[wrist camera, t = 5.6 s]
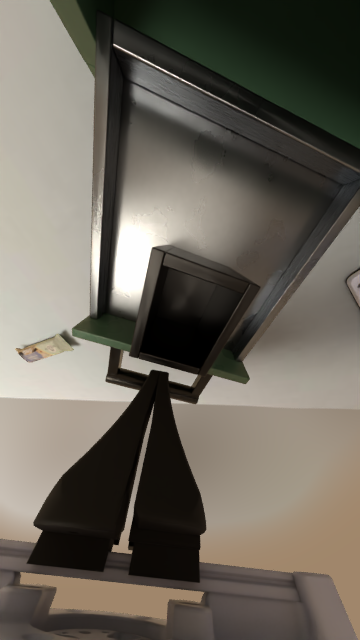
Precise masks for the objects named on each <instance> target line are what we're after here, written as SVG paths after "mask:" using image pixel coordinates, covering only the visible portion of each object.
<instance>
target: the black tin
mask: <svg viewBox="0 0 360 640" xmlns="http://www.w3.org/2000/svg"><path fill="white" fill-rule="evenodd" d="M260 288H261V287H260V286H259V285H257V284H256V283H254V282H252V281H251V280H249V279H248V278H246V277H244V276H243V275H241V274H240V273H238V272H236V271H235V270H233V269H231V268H230V267H227V266H225V265H222V264H219V263H217V262H214V261H211V260H209V259H206V258H203V257H201V256H198V255H195V254H193V253H190V252H187V251H185V250H182V249H179V248H177V247H174V246H171V245H163V246H156V247H152V249H151V253H150V258H149V263H148V268H147V272H146V277H145V282H144V287H143V292H142V296H141V301H140V306H139V311H138V316H137V320H136V325H135V330H134V335H133V339H132V344H131V349H130V354H129V356H131V357H134V358H138V357H139V359H142V360H146V361H149V362H153V363H156V364H160V365H164V366H167V367H171V368H175V369H178V370H182V371H186V372H189V373H193V374H198V375H200V376H204V377H205V376H206V375H207V373H208V371H209V370H210V368H211V367H212V365H213V363H214V362H215V360H216V359H217V357H218V355H219V354H220V352H221V351H222V349H223V347H224V346H225V344H226V343H227V341H228V339H229V338H230V336H231V335H232V333H233V331H234V330H235V328H236V327H237V325H238V323H239V322H240V320H241V319H242V317H243V315H244V314H245V312H246V311H247V309H248V307H249V306H250V304H251V303H252V301H253V299H254V298H255V296H256V295H257V293H258V291H259V290H260Z"/></svg>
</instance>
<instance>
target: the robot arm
mask: <svg viewBox="0 0 360 640" xmlns="http://www.w3.org/2000/svg"><path fill="white" fill-rule="evenodd" d="M359 283H360V270H359V271H357V272H356V273H354V274H353V275H351V276H350V277H349V278H348V280H347V285H348V286H349V288H350V290H351V292H352V294H353V296H354V298H355V299H356V301H357V303H358V305H359V307H360V284H359ZM358 284H359V285H358ZM168 376H169V373H168V372H162V371H156V370H151V371H150V374H149V376H148V378H147V379H146V381H145V383H144V385H143V386H142V388H141V389H140V391H139V392H138V394H137V395H136V397H135V398H134V399H133V401H132V402H131V404H130V405H129V406H128V408H127V409H126V410H125V411H124V413H123V414H122V415H121V416H120V417H119V419H118V420H117V421H116V422H115V423H114V424H113V426H112V427H111V428H110V429H109V430H108V431H107V432H106V433H105V434H104V435H103V436H102V438H101V439H100V440H99V441H98V442H97V443H96V444H95V445H94V446H93V447H92V448H91V449H90V450H89V451H88V452H87V453H86V454H85V455H84V456H83V457H82V458H80V459H79V460H78V461H77V462H76V463H75V464H74V465H73V466H72V467H71V468H70V469H69V470H68V471H67V472H66V473H65V474H63V476H62V477H61V479H60V480H59V481H58V482H57V484H56V485H55V486H54V488H53V489H52V491H51V493H50V494H49V496H48V497H47V499H46V500H45V502H44V504H43V506H42V508H41V510H40V511H39V513H38V515H37V517H36V519H35V520H34V526H35V527H37V528H39V529H41V530H43V532H42V533H41V535H40V537H39V539H38V541H37V543H31V542H22V541H14V540H5V539H0V640H358V639H357V636H356V634H355V632H354V629H353V627H352V625H351V622H350V620H349V618H348V615H347V613H346V611H345V608H344V606H343V604H342V601H341V599H340V597H339V594H338V592H337V590H336V587H335V585H334V582H333V580H332V578H331V577H330V576H329V575H324V574H317V573H308V572H293V573H288V572H278V571H270V570H262V569H253V568H245V567H236V566H228V565H219V564H211V563H202V562H199V550H200V535H201V534H203V533H204V532H205V531H206V520H205V513H204V508H203V503H202V499H201V495H200V492H199V489H198V487H197V484H196V482H195V479H194V477H193V474H192V472H191V469H190V466H189V464H188V461H187V459H186V455H185V453H184V449H183V447H182V444H181V441H180V437H179V434H178V431H177V427H176V424H175V419H174V415H173V410H172V405H171V399H170V393H169V382H168ZM154 401H155V402H154ZM153 404H154V410H153V418H152V424H151V429H150V434H149V439H148V444H147V448H146V453H145V458H144V462H143V467H142V472H141V476H140V481H139V486H138V491H137V495H136V500H135V504H134V515H133V521H132V525H131V530H130V535H129V546H128V549H129V550H133V552H132V554H125V553H117V552H111V551H112V547H113V545H119V540H120V536H121V532H122V531H123V530H124V527H125V522H126V518H127V513H128V508H129V503H130V498H131V494H132V489H133V485H134V480H135V476H136V471H137V466H138V462H139V456H140V453H141V448H142V443H143V439H144V435H145V432H146V428H147V425H148V421H149V418H150V415H151V412H152V408H153ZM20 572H26V573H35V574H45V575H54V576H63V577H73V578H81V579H91V580H100V581H109V582H118V583H127V584H136V585H146V586H156V587H164V588H173V589H182V590H183V589H184V590H192V591H202V592H204V594H203V596H202V600H201V602H200V603H198V602H193V601H187V600H169V602H168V611H167V620H165V619H158V618H152V617H145V616H138V615H131V614H124V613H114V612H105V611H91V610H74V609H55V608H50V606H51V604H52V601H53V599H54V596H55V593H56V587H51V586H46V585H38V584H20V577H21V575H20Z"/></svg>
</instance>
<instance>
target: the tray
mask: <svg viewBox="0 0 360 640" xmlns="http://www.w3.org/2000/svg"><path fill="white" fill-rule="evenodd" d="M359 206H360V149H359V148H357V147H355V146H353V145H351V144H350V143H348V142H346V141H344V140H342V139H340V138H338V137H336V136H335V135H333V134H331V133H329V132H327V131H325V130H323V129H321V128H320V127H318V126H316V125H314V124H312V123H310V122H308V121H306V120H305V119H303V118H301V117H299V116H297V115H295V114H293V113H291V112H290V111H288V110H286V109H284V108H282V107H280V106H278V105H276V104H275V103H273V102H271V101H269V100H267V99H265V98H263V97H261V96H260V95H258V94H256V93H254V92H252V91H250V90H248V89H246V88H245V87H243V86H241V85H239V84H237V83H235V82H233V81H231V80H230V79H228V78H226V77H224V76H222V75H220V74H218V73H217V72H215V71H213V70H211V69H209V68H207V67H205V66H203V65H202V64H200V63H198V62H196V61H194V60H192V59H190V58H188V57H187V56H185V55H183V54H181V53H179V52H177V51H175V50H173V49H172V48H170V47H168V46H166V45H164V44H162V43H160V42H158V41H157V40H155V39H153V38H151V37H149V36H147V35H145V34H143V33H142V32H140V31H138V30H136V29H134V28H132V27H130V26H128V25H127V24H125V23H123V22H121V21H119V20H117V19H113V18H112V17H111V16H110V15H108V14H106V13H104V12H102V11H100V10H98V9H97V11H96V50H95V96H94V142H93V188H92V234H91V280H90V315H89V316H88V317H87V318H85V319H84V320H83V321H81V322H80V323H79V324H77V325H76V326H75V327H73V328H72V335H73V336H74V337H78V338H81V339H85V340H89V341H92V342H96V343H99V344H103V345H107V346H110V347H111V350H110V358H109V367H108V373H107V376H106V382H108V383H112V384H116V385H120V386H124V387H128V388H132V389H136V390H140V389H141V388H142V386H143V385H144V383H145V381H146V379H147V378H148V376H149V375H146V374H142V373H138V372H134V371H131V370H127V369H123V368H121V363H122V357H123V351H128V352H130V349H131V344H132V339H133V335H134V330H135V325H136V320H137V316H138V311H139V306H140V301H141V296H142V292H143V287H144V282H145V277H146V272H147V268H148V263H149V258H150V253H151V249H152V247H156V246H163V245H171V246H174V247H177V248H179V249H182V250H185V251H187V252H190V253H193V254H195V255H198V256H201V257H203V258H206V259H209V260H211V261H214V262H217V263H219V264H222V265H225V266H227V267H230V268H231V269H233V270H235V271H236V272H238V273H240V274H241V275H243V276H244V277H246V278H248V279H249V280H251V281H252V282H254V283H256V284H257V285H259V286H260V287H261V288H260V290H259V291H258V293H257V295H256V296H255V298H254V299H253V301H252V303H251V304H250V306H249V307H248V309H247V311H246V312H245V314H244V315H243V317H242V319H241V320H240V322H239V323H238V325H237V327H236V328H235V330H234V331H233V333H232V335H231V336H230V338H229V339H228V341H227V343H226V344H225V346H224V347H223V349H222V351H221V352H220V354H219V355H218V357H217V359H216V360H215V362H214V363H213V365H212V367H211V368H210V370H209V371H208V373H207V375H206V376H205V377H204V376H200V375H198V376H197V378H196V379H195V381H194V383H193V385H192V386H187V385H184V384H180V383H176V382H172V381H168V382H169V393H170V398H172V399H176V400H180V401H184V402H188V403H192V404H196V403H197V402H198V399H199V395H200V394H201V392H202V391H203V389H204V388H205V386H206V385H207V383H208V382H209V380H210V379H211V377H212V376H213V375H214V376H218V377H221V378H225V379H229V380H232V381H236V382H239V383H243V384H246V383H247V382H248V381H249V380H250V378H249V375H248V373H247V371H246V369H245V367H244V364H243V362H242V361H243V360H244V358H245V357H246V356H247V354H248V353H249V352H250V350H251V349H252V348H253V346H254V345H255V344H256V342H257V341H258V340H259V338H260V337H261V336H262V335H263V333H264V332H265V331H266V329H267V328H268V327H269V325H270V324H271V323H272V321H273V320H274V319H275V317H276V316H277V315H278V313H279V312H280V311H281V309H282V308H283V307H284V305H285V304H286V303H287V301H288V300H289V299H290V297H291V296H292V295H293V293H294V292H295V291H296V290H297V288H298V287H299V286H300V284H301V283H302V282H303V280H304V279H305V278H306V276H307V275H308V274H309V272H310V271H311V270H312V268H313V267H314V266H315V264H316V263H317V262H318V260H319V259H320V258H321V256H322V255H323V254H324V252H325V251H326V250H327V249H328V247H329V246H330V245H331V243H332V242H333V241H334V239H335V238H336V237H337V235H338V234H339V233H340V231H341V230H342V229H343V227H344V226H345V225H346V223H347V222H348V221H349V219H350V218H351V217H352V215H353V214H354V213H355V211H356V210H357V209H358V208H359Z"/></svg>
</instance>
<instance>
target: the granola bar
mask: <svg viewBox="0 0 360 640" xmlns="http://www.w3.org/2000/svg"><path fill="white" fill-rule="evenodd" d="M15 350H16V351H17V352H18V354H19V355H20V356H21V357H22V358H24V359H25V360H26V361H27V362H29V363H31V362H34V361H37V360H40V359H43V358H46V357H49V356H52V355H56V354H59V353H61V352H64V351H72V350H74V349H73V348H72V347H71V346H70V345H69V344H68V343H67V342H66V341H65V340H64V339H63V338H62V337H61V336H60V335H59V334H56V335H55V337H53V338H50V339H48V340H45V341H42V342H39V343H37V344H34V345H31V346H28V347H26V348H23V349H20V348H16V349H15Z"/></svg>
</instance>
